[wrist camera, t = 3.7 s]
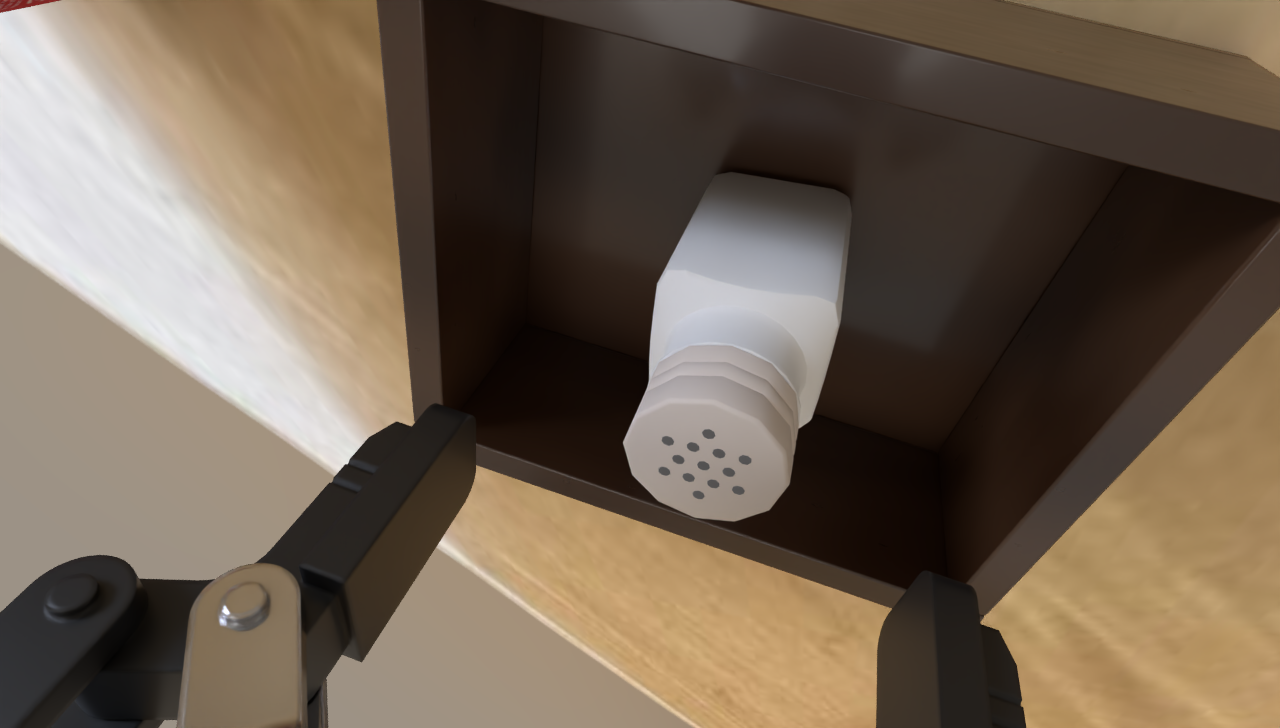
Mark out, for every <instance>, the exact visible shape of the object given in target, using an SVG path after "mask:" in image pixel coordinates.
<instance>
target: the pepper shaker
mask: <svg viewBox="0 0 1280 728" xmlns="http://www.w3.org/2000/svg"><path fill="white" fill-rule="evenodd" d="M851 219H852V211H851V205H850V199H849V198H848V197H847V196H846V195H845V194H843V193H841V192H839V191H837V190H835V189H830V188H824V187H818V186H812V185H806V184H800V183H794V182H788V181H782V180H776V179H770V178H764V177H758V176H752V175H746V174H740V173H734V172H728V173H722V174H718V175H715V176H714V178H713V179H712V181H711V183H710V184H709V186H708V188H707V189H706V191H705V193H704V195H703V197H702V199H701V201H700V203H699V205H698V206H697V208H696V210H695V212H694V214H693V216H692V218H691V220H690V222H689V224H688V226H687V228H686V229H685V231H684V233H683V235H682V237H681V239H680V241H679V243H678V245H677V247H676V249H675V251H674V252H673V254H672V256H671V258H670V260H669V262H668V264H667V266H666V268H665V270H664V272H663V274H662V275H661V277H660V279H659V281H658V283H657V288H656V296H655V303H654V311H653V319H652V329H651V338H650V355H649V382H648V386H647V389H646V391H645V394H644V396H643V398H642V401H641V403H640V405H639V407H638V410H637V412H636V414H635V417H634V419H633V421H632V423H631V425H630V428H629V430H628V432H627V434H626V437H625V439H624V441H623V444H624V448H625V451H626V455H627V458H628V462H629V466H630V469H631V473H632V475H633V476H634V477H635V478H636V479H637V480H638V481H639V482H640V483H641V484H642V485H643V486H644V487H645V488H646V489H647V490H648V491H649V492H650V493H651V494H652V495H653V496H654V497H655V498H656V499H657V500H658V501H659V502H661V503H663V504H666V505H668V506H670V507H672V508H674V509H677V510H679V511H681V512H683V513H685V514H688V515H690V516H692V517H694V518H702V519H713V520H724V521H738V520H741V519H744V518H747V517H750V516H753V515H756V514H759V513H762V512H766V511H769V510H770V509H771V507H772V506H773V505H774V504H775V502H776V501H777V500H778V498H779V497H780V496H781V495H782V493H783V492H784V491H785V489H786V488H787V487H788V486H789V484H790V478H791V472H792V466H793V455H794V453H795V447H796V439H797V434H798V428H801V427H802V426H803V425H805V424H806V423H808V422H809V421H810V420H811V419H812V416H813V413H814V410H815V408H816V405H817V402H818V399H819V395H820V392H821V389H822V386H823V383H824V379H825V376H826V372H827V369H828V365H829V362H830V358H831V355H832V351H833V348H834V344H835V340H836V337H837V333H838V329H839V325H840V322H841V313H842V304H843V294H844V285H845V275H846V266H847V257H848V247H849V238H850V229H851Z"/></svg>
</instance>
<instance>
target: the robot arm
mask: <svg viewBox="0 0 1280 728" xmlns="http://www.w3.org/2000/svg"><path fill="white" fill-rule="evenodd" d="M475 473H476V419H475V417H474V416H473V415H470V414H467V413H464V412H461V411H458V410H455V409H452V408H449V407H446V406H443V405H440V404H437V403H434V404H432V405H430V406H429V407H428V408H427V409H426V410H425V411H424V412H423V414H422V415H421V416H420V417H419V418H418V420H417V421H416V422H415V423H414V425H413V426H412V427H411V426H408V425H405V424H402V423H399V422H395V423H393V424H391V425H390V426H388V427H386V428H384V429H383V430H381V431H379V432H378V433H376V434H374V435H372V436H371V437H369V438H368V439H367V440H366V441H365V443H364V444H363V445H362V446H361V447H360V448H359V449H358V451H357V452H356V453H355V454H354V455H353V456H352V457H351V459H350V460H349V463H348V464H345V465H344V467H343V468H342V469H341V470H340V471H339V472H338V473H337V475H336V476H335V477H334V479H333V482H332V483H329V484H328V485H327V486H326V487H325V488H324V489H323V491H322V492H321V493H320V494H319V495H318V496H317V497H316V499H315V500H314V501H313V502H312V503H311V504H310V506H309V507H308V508H307V509H306V510H305V511H304V512H303V513H302V515H301V516H300V517H299V518H298V519H297V520H296V521H295V523H294V524H293V525H292V526H291V527H290V528H289V530H288V531H287V532H286V533H285V534H284V535H283V536H282V537H281V539H280V540H279V541H278V542H277V543H276V544H275V545H274V547H273V548H272V549H271V550H270V551H269V552H268V553H267V554H266V555H265V556H264V557H262V558H261V559H260V560H259V561H257V562H256V563H254V564H248V565H244V566H240V567H237V568H235V569H232V570H230V571H228V572H226V573H224V574H222V575H220V576H219V577H218V578H216V579H213V580H199V581H195V580H162V579H139V578H138V576H137V575H136V573H135V571H134V569H133V568H132V567H131V566H130V564H128V563H127V562H126V561H124V560H122V559H120V558H117V557H113V556H107V555H96V556H87V557H81V558H78V559H74V560H71V561H69V562H66V563H63V564H61V565H59V566H57V567H55V568H53V569H51V570H49V571H48V572H46V573H45V574H43V575H42V576H40V577H39V578H38V579H36V580H35V581H34V582H33V583H32V584H30V585H29V586H28V587H27V588H26V589H25V590H24V591H23V592H22V593H21V594H20V595H19V596H18V597H16V598H15V599H14V601H12V602H11V603H10V604H9V605H8V606H7V607H6V608H5V609H4V610H3V611H1V612H0V728H158V727H159V726H160V725H161V724H162V722H163V721H164V720H177V727H176V728H328V707H327V682H326V681H327V680H326V677H327V676H328V674H329V673H330V672H331V670H332V669H333V667H334V665H335V664H336V663H337V661H338V660H339V658H340V657H341V655H345V656H347V657H350V658H352V659H355V660H357V661H360V662H362V661H363V660H364V658H365V657H366V655H367V654H368V652H369V651H370V649H371V647H372V646H373V644H374V643H375V641H376V640H377V638H378V637H379V635H380V633H381V632H382V630H383V629H384V627H385V626H386V624H387V623H388V621H389V619H390V618H391V616H392V615H393V613H394V612H395V610H396V608H397V607H398V605H399V604H400V602H401V600H402V599H403V598H404V596H405V595H406V593H407V591H408V590H409V588H410V587H411V585H412V584H413V582H414V581H415V579H416V577H417V576H418V574H419V573H420V571H421V570H422V568H423V567H424V565H425V563H426V562H427V560H428V559H429V557H430V556H431V554H432V553H433V551H434V549H435V548H436V546H437V545H438V543H439V542H440V540H441V539H442V537H443V536H444V534H445V532H446V531H447V529H448V528H449V526H450V525H451V523H452V522H453V520H454V518H455V517H456V515H457V514H458V512H459V511H460V509H461V508H462V506H463V504H464V503H465V501H466V499H467V497H468V495H469V493H470V491H471V488H472V485H473V482H474V478H475ZM1021 701H1022V697H1021V690H1020V684H1019V677H1018V671H1017V665H1016V663H1015V661H1014V659H1013V657H1012V655H1011V653H1010V651H1009V649H1008V648H1007V646H1006V644H1005V642H1004V640H1003V638H1002V636H1001V634H1000V632H999V630H996V629H993V628H990V627H987V626H984V625H981V623H980V615H979V606H978V598H977V594H976V591H975V589H974V588H973V587H972V586H971V585H968V584H965V583H962V582H959V581H956V580H953V579H950V578H947V577H944V576H941V575H938V574H935V573H932V572H930V571H922V572H921V573H920V574H919V575H918V576H917V578H916V579H915V580H914V581H913V583H912V584H911V585H910V587H909V588H908V589H907V591H906V592H905V593H904V594H903V596H902V597H901V598H900V600H899V601H898V602H897V604H896V605H895V606H894V607H893V609H892V610H891V611H890V613H889V614H888V616H887V617H886V619H885V621H884V623H883V626H882V629H881V632H880V637H879V642H878V650H877V711H876V728H1026V722H1025V716H1024V710H1023V707H1021Z"/></svg>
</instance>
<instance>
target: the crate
mask: <svg viewBox="0 0 1280 728" xmlns="http://www.w3.org/2000/svg"><path fill="white" fill-rule="evenodd" d="M377 10H378V21H379V32H380V43H381V54H382V66H383V77H384V88H385V99H386V110H387V121H388V133H389V144H390V155H391V166H392V177H393V189H394V200H395V211H396V222H397V233H398V244H399V256H400V267H401V278H402V289H403V300H404V312H405V323H406V334H407V345H408V356H409V367H410V379H411V390H412V401H413V412H414V421H415V422H416V421H417V420H418V418H419V417H420V416H421V415H422V414H423V412H424V411H425V410H426V409H427V408H428V407H429V406H430V405H432V404H434V403H437V404H440V405H443V406H446V407H449V408H452V409H455V410H458V411H461V412H464V413H467V414H470V415H473V416H474V417H475V419H476V465H477V466H480V467H483V468H486V469H489V470H492V471H495V472H498V473H501V474H503V475H506V476H509V477H512V478H515V479H518V480H521V481H524V482H527V483H530V484H532V485H535V486H538V487H541V488H544V489H547V490H550V491H553V492H556V493H559V494H561V495H564V496H567V497H570V498H573V499H576V500H579V501H582V502H585V503H588V504H590V505H593V506H596V507H599V508H602V509H605V510H608V511H611V512H614V513H617V514H619V515H622V516H625V517H628V518H631V519H634V520H637V521H640V522H643V523H646V524H648V525H651V526H654V527H657V528H660V529H663V530H666V531H669V532H672V533H675V534H677V535H680V536H683V537H686V538H689V539H692V540H695V541H698V542H701V543H704V544H706V545H709V546H712V547H715V548H718V549H721V550H724V551H727V552H730V553H733V554H735V555H738V556H741V557H744V558H747V559H750V560H753V561H756V562H759V563H762V564H764V565H767V566H770V567H773V568H776V569H779V570H782V571H785V572H788V573H791V574H793V575H796V576H799V577H802V578H805V579H808V580H811V581H814V582H817V583H820V584H822V585H825V586H828V587H831V588H834V589H837V590H840V591H843V592H846V593H849V594H851V595H854V596H857V597H860V598H863V599H866V600H869V601H872V602H875V603H878V604H880V605H883V606H886V607H889V608H892V609H893V607H894V606H895V605H896V604H897V602H898V601H899V600H900V598H901V597H902V596H903V594H904V593H905V592H906V591H907V589H908V588H909V587H910V585H911V584H912V583H913V581H914V580H915V579H916V578H917V576H918V575H919V574H920V573H921V572H922V571H930V572H932V573H935V574H938V575H941V576H944V577H947V578H950V579H953V580H956V581H959V582H962V583H965V584H968V585H971V586H972V587H973V588H974V589H975V591H976V594H977V598H978V606H979V615H980V621H981V620H982V619H983V618H984V615H986V614H987V613H988V612H989V611H990V610H991V609H992V608H993V607H994V606H995V605H996V604H997V603H998V602H999V601H1000V600H1001V599H1002V598H1003V597H1004V596H1005V595H1006V594H1007V593H1008V591H1009V590H1010V589H1011V588H1012V587H1013V586H1014V585H1015V584H1016V583H1017V582H1018V581H1019V580H1020V579H1021V578H1022V577H1023V576H1024V575H1025V574H1026V573H1027V572H1028V571H1029V569H1030V568H1031V567H1032V566H1033V565H1034V564H1035V563H1036V562H1037V561H1038V560H1039V559H1040V558H1041V557H1042V556H1043V555H1044V554H1045V553H1046V552H1047V551H1048V550H1049V549H1050V548H1051V546H1052V545H1053V544H1054V543H1055V542H1056V541H1057V540H1058V539H1059V538H1060V537H1061V536H1062V535H1063V534H1064V533H1065V532H1066V531H1067V530H1068V529H1069V528H1070V527H1071V526H1072V525H1073V523H1074V522H1075V521H1076V520H1077V519H1078V518H1079V517H1080V516H1081V515H1082V514H1083V513H1084V512H1085V511H1086V510H1087V509H1088V508H1089V507H1090V506H1091V505H1092V504H1093V503H1094V501H1095V500H1096V499H1097V498H1098V497H1099V496H1100V495H1101V494H1102V493H1103V492H1104V491H1105V490H1106V489H1107V488H1108V487H1109V486H1110V485H1111V484H1112V483H1113V482H1114V481H1115V480H1116V478H1117V477H1118V476H1119V475H1120V474H1121V473H1122V472H1123V471H1124V470H1125V469H1126V468H1127V467H1128V466H1129V465H1130V464H1131V463H1132V462H1133V461H1134V460H1135V459H1136V458H1137V456H1138V455H1139V454H1140V453H1141V452H1142V451H1143V450H1144V449H1145V448H1146V447H1147V446H1148V445H1149V444H1150V443H1151V442H1152V441H1153V440H1154V439H1155V438H1156V437H1157V436H1158V435H1159V433H1160V432H1161V431H1162V430H1163V429H1164V428H1165V427H1166V426H1167V425H1168V424H1169V423H1170V422H1171V421H1172V420H1173V419H1174V418H1175V417H1176V416H1177V415H1178V414H1179V413H1180V411H1181V410H1182V409H1183V408H1184V407H1185V406H1186V405H1187V404H1188V403H1189V402H1190V401H1191V400H1192V399H1193V398H1194V397H1195V396H1196V395H1197V394H1198V393H1199V392H1200V391H1201V390H1202V388H1203V387H1204V386H1205V385H1206V384H1207V383H1208V382H1209V381H1210V380H1211V379H1212V378H1213V377H1214V376H1215V375H1216V374H1217V373H1218V372H1219V371H1220V370H1221V369H1222V368H1223V366H1224V365H1225V364H1226V363H1227V362H1228V361H1229V360H1230V359H1231V358H1232V357H1233V356H1234V355H1235V354H1236V353H1237V352H1238V351H1239V350H1240V349H1241V348H1242V347H1243V346H1244V345H1245V343H1246V342H1247V341H1248V340H1249V339H1250V338H1251V337H1252V336H1253V335H1254V334H1255V333H1256V332H1257V331H1258V330H1259V329H1260V328H1261V327H1262V326H1263V325H1264V324H1265V323H1266V321H1267V320H1268V319H1269V318H1270V317H1271V316H1272V315H1273V314H1274V313H1275V312H1276V311H1277V310H1278V309H1279V308H1280V78H1279V77H1278V76H1276V75H1275V74H1273V73H1271V72H1270V71H1268V70H1267V69H1265V68H1263V67H1262V66H1260V65H1259V64H1257V63H1256V62H1254V61H1252V60H1251V59H1250V58H1248V57H1246V56H1242V55H1238V54H1233V53H1229V52H1225V51H1220V50H1216V49H1212V48H1207V47H1203V46H1199V45H1194V44H1190V43H1186V42H1181V41H1177V40H1173V39H1168V38H1164V37H1160V36H1155V35H1151V34H1147V33H1143V32H1138V31H1134V30H1130V29H1125V28H1121V27H1117V26H1112V25H1108V24H1104V23H1099V22H1095V21H1091V20H1086V19H1082V18H1078V17H1073V16H1069V15H1065V14H1060V13H1056V12H1052V11H1047V10H1043V9H1039V8H1034V7H1030V6H1026V5H1021V4H1017V3H1013V2H1008V1H1004V0H377ZM728 172H734V173H740V174H746V175H752V176H758V177H764V178H770V179H776V180H782V181H788V182H794V183H800V184H806V185H812V186H818V187H824V188H830V189H835V190H837V191H839V192H841V193H843V194H845V195H846V196H847V197H848V198H849V199H850V205H851V211H852V219H851V229H850V238H849V247H848V257H847V266H846V275H845V285H844V294H843V304H842V313H841V322H840V325H839V329H838V333H837V337H836V340H835V344H834V348H833V351H832V355H831V358H830V362H829V365H828V369H827V372H826V376H825V379H824V383H823V386H822V389H821V392H820V395H819V399H818V402H817V405H816V408H815V410H814V413H813V416H812V419H811V420H810V421H809V422H808V423H806V424H805V425H803V426H802V427H801V428H798V434H797V439H796V447H795V453H794V455H793V466H792V472H791V478H790V484H789V486H788V487H787V488H786V489H785V491H784V492H783V493H782V495H781V496H780V497H779V498H778V500H777V501H776V502H775V504H774V505H773V506H772V507H771V509H770V510H769V511H766V512H762V513H759V514H756V515H753V516H750V517H747V518H744V519H741V520H738V521H724V520H713V519H702V518H694V517H692V516H690V515H688V514H685V513H683V512H681V511H679V510H677V509H674V508H672V507H670V506H668V505H666V504H663V503H661V502H659V501H658V500H657V499H656V498H655V497H654V496H653V495H652V494H651V493H650V492H649V491H648V490H647V489H646V488H645V487H644V486H643V485H642V484H641V483H640V482H639V481H638V480H637V479H636V478H635V477H634V476H633V475H632V473H631V469H630V466H629V462H628V458H627V455H626V451H625V448H624V444H623V441H624V439H625V437H626V434H627V432H628V430H629V428H630V425H631V423H632V421H633V419H634V417H635V414H636V412H637V410H638V407H639V405H640V403H641V401H642V398H643V396H644V394H645V391H646V389H647V386H648V382H649V355H650V338H651V329H652V319H653V311H654V303H655V296H656V288H657V283H658V281H659V279H660V277H661V275H662V274H663V272H664V270H665V268H666V266H667V264H668V262H669V260H670V258H671V256H672V254H673V252H674V251H675V249H676V247H677V245H678V243H679V241H680V239H681V237H682V235H683V233H684V231H685V229H686V228H687V226H688V224H689V222H690V220H691V218H692V216H693V214H694V212H695V210H696V208H697V206H698V205H699V203H700V201H701V199H702V197H703V195H704V193H705V191H706V189H707V188H708V186H709V184H710V183H711V181H712V179H713V178H714V176H715V175H718V174H722V173H728Z"/></svg>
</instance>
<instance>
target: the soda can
mask: <svg viewBox="0 0 1280 728" xmlns="http://www.w3.org/2000/svg"><path fill="white" fill-rule="evenodd" d="M55 1H60V0H0V13H1V12H6V11H11V10H16V9H21V8H26V7H31V6H35V5H40V4H45V3H50V2H55Z"/></svg>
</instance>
